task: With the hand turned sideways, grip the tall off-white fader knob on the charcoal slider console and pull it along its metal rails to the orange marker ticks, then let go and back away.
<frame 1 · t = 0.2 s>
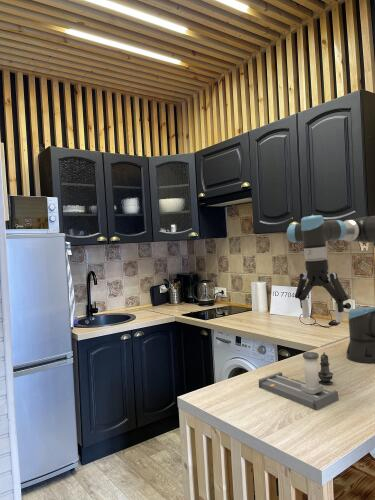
hand: (322, 319, 127), 27 cm above the counter, tool pointing down, fingers open, 13 cm apart
console: (296, 393, 132), on the counter
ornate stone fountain: (325, 383, 140), on the counter
fader: (311, 372, 126), point 10 cm above the counter, slide at 7.0 cm
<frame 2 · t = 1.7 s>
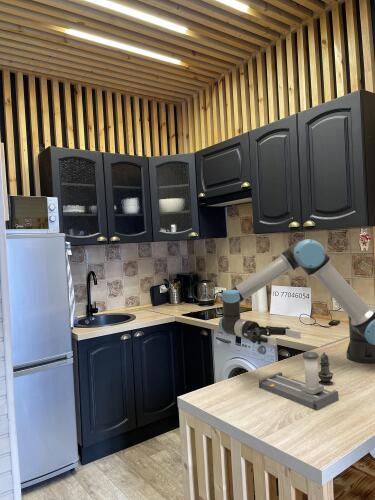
hand: (288, 338, 134), 20 cm above the counter, tool horizontal, fingers open, 13 cm apart
nothing on the counter moved.
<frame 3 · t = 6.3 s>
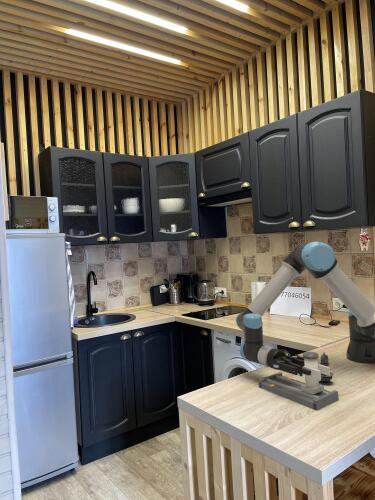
hand: (324, 373, 121), 10 cm above the counter, tool horizontal, fingers closed on fader, 4 cm apart
fader: (311, 372, 126), point 10 cm above the counter, slide at 7.0 cm, touching gripper
everything else where it was.
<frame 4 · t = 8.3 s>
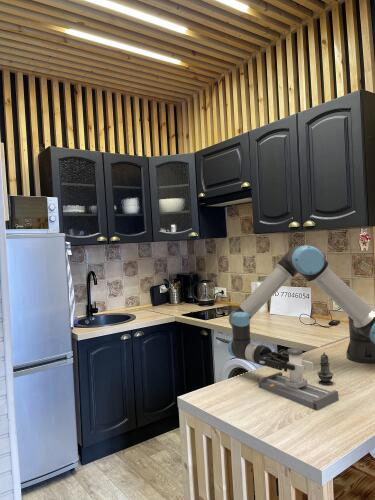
hand: (307, 368, 127), 11 cm above the counter, tool horizontal, fingers closed on fader, 4 cm apart
fader: (295, 367, 131), point 10 cm above the counter, slide at 0.2 cm, touching gripper
everything else where it was.
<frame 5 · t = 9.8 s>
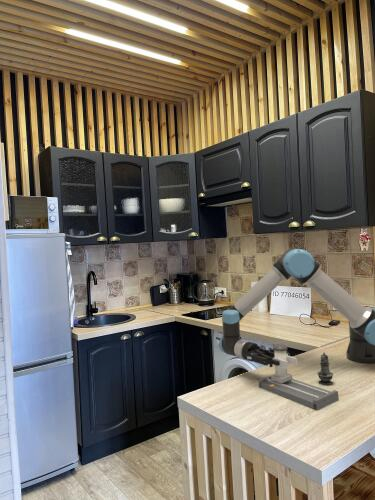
hand: (292, 363, 133), 11 cm above the counter, tool horizontal, fingers closed on fader, 4 cm apart
fader: (280, 362, 137), point 10 cm above the counter, slide at -6.7 cm, touching gripper
everything else where it was.
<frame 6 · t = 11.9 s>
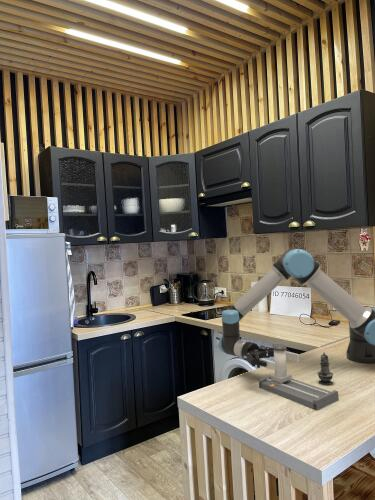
hand: (287, 362, 135), 10 cm above the counter, tool horizontal, fingers open, 13 cm apart
fader: (280, 362, 137), point 10 cm above the counter, slide at -7.0 cm
everything else where it was.
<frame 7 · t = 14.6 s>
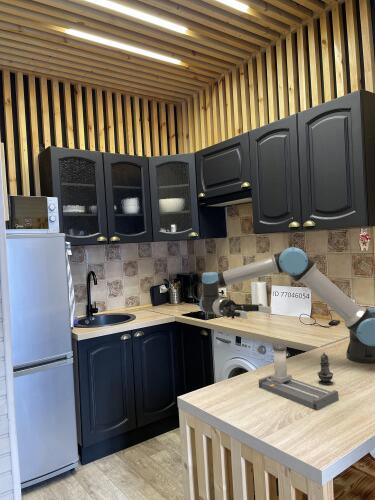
hand: (259, 312, 145), 27 cm above the counter, tool horizontal, fingers open, 13 cm apart
nothing on the counter moved.
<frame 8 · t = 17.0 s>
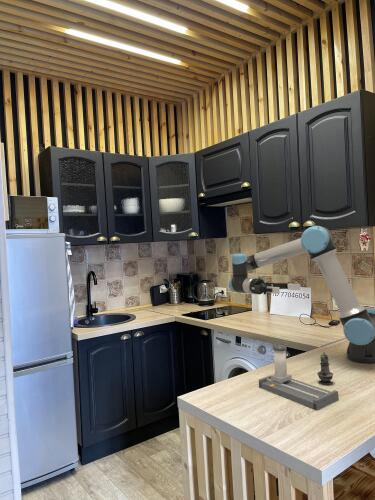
hand: (289, 288, 156), 35 cm above the counter, tool horizontal, fingers open, 13 cm apart
nothing on the counter moved.
at the end: fader slide at -7.0 cm; the gripper is holding nothing; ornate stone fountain moved 0.2 cm from its start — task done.
